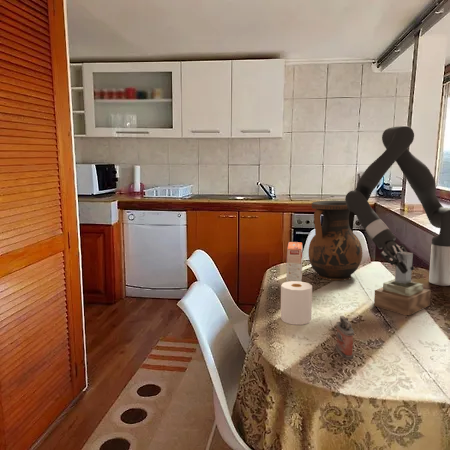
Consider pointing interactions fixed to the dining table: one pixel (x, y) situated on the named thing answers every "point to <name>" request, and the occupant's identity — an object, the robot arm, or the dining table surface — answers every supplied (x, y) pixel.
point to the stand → (402, 297)
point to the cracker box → (294, 262)
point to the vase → (334, 241)
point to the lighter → (345, 338)
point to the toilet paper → (296, 302)
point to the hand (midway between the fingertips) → (408, 271)
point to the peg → (407, 261)
